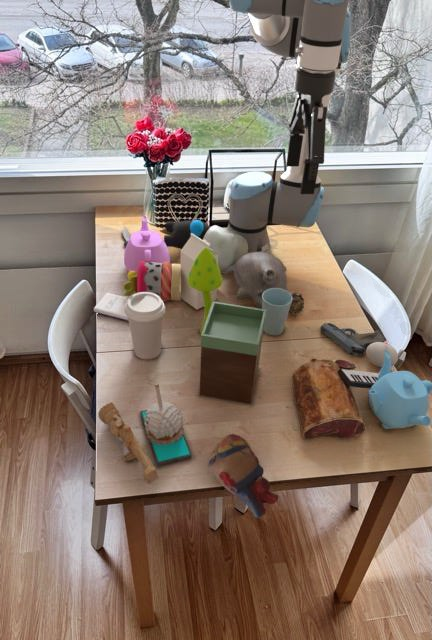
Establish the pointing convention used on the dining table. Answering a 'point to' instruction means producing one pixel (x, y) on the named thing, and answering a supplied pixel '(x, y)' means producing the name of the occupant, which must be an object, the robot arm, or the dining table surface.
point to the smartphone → (169, 449)
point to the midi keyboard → (358, 378)
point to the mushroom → (205, 278)
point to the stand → (228, 374)
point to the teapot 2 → (399, 397)
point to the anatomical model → (241, 473)
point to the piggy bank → (258, 275)
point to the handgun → (352, 338)
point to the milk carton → (187, 260)
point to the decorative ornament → (163, 422)
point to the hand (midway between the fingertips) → (299, 179)
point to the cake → (155, 280)
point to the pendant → (296, 304)
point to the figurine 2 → (381, 353)
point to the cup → (276, 309)
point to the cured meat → (326, 400)
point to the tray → (233, 328)
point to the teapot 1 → (145, 248)
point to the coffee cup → (145, 323)
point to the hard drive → (112, 306)
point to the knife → (126, 236)
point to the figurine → (127, 440)
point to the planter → (226, 246)
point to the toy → (184, 232)
